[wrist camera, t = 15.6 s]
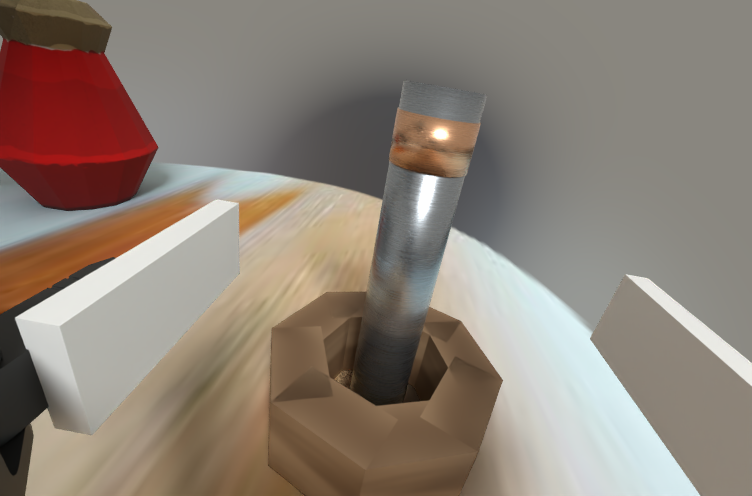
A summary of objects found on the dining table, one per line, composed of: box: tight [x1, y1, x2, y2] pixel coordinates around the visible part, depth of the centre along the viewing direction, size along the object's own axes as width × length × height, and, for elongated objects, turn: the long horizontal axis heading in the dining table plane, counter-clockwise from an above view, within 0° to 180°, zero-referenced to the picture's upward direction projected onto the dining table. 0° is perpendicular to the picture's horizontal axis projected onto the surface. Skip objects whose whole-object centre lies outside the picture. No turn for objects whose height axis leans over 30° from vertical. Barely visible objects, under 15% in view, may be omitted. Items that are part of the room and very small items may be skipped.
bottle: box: [0, 0, 158, 211], centre depth 37 cm, size 16×14×20 cm
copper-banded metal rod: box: [350, 80, 487, 406], centre depth 17 cm, size 3×3×18 cm
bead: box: [268, 292, 503, 496], centre depth 20 cm, size 12×12×4 cm
